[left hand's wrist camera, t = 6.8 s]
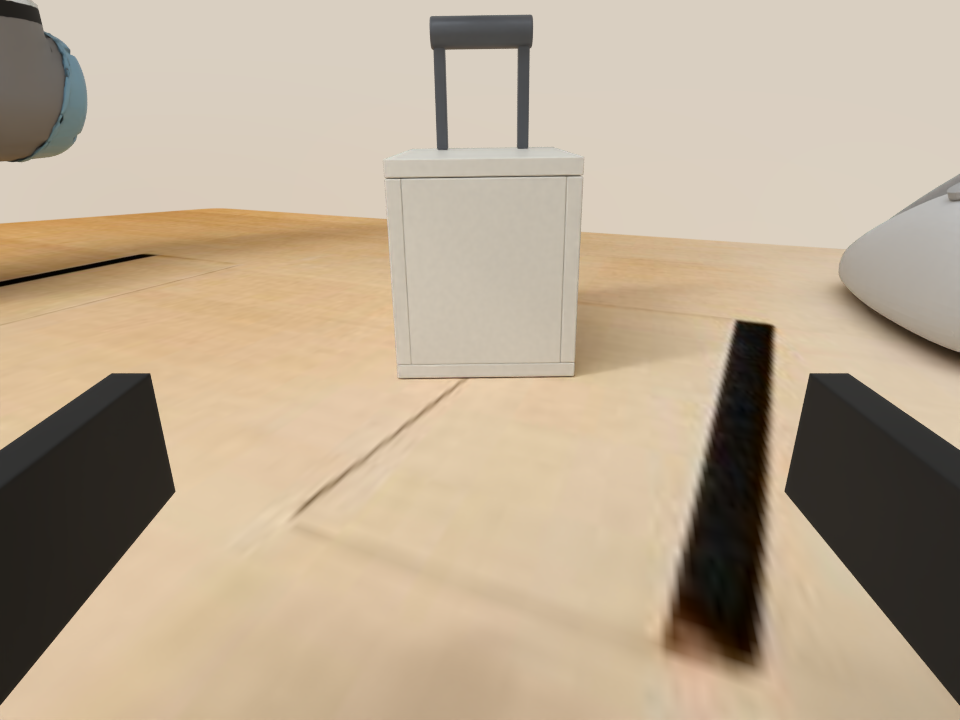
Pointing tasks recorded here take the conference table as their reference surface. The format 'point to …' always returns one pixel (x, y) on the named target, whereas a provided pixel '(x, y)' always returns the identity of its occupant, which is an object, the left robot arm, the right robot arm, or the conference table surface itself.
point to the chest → (484, 274)
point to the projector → (913, 266)
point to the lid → (523, 158)
